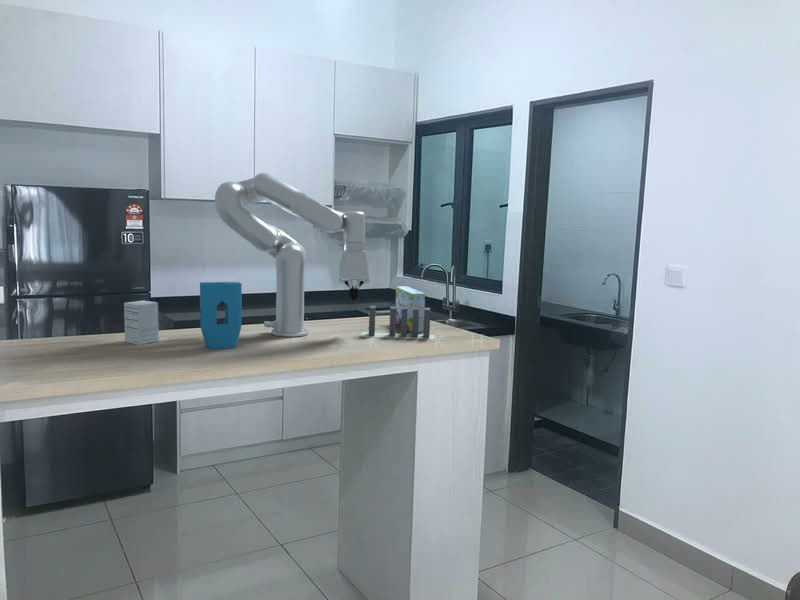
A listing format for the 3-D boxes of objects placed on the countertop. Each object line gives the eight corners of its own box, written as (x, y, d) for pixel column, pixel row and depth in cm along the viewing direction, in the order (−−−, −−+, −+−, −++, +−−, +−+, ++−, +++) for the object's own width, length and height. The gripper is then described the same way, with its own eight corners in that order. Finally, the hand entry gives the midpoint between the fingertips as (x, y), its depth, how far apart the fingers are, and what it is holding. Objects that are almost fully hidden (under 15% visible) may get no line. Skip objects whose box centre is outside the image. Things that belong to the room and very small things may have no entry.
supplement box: (144, 338, 205) (143, 300, 203) (159, 341, 201) (158, 302, 199) (124, 342, 198) (123, 302, 197) (139, 345, 195) (138, 304, 193)
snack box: (393, 323, 250) (395, 286, 248) (407, 323, 252) (408, 286, 250) (410, 333, 230) (412, 292, 228) (425, 333, 232) (426, 292, 230)
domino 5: (422, 337, 221) (423, 309, 219) (422, 335, 226) (423, 307, 224) (429, 338, 221) (430, 309, 219) (428, 335, 226) (429, 307, 224)
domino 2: (388, 336, 221) (389, 308, 219) (388, 333, 226) (389, 306, 224) (395, 336, 221) (396, 308, 219) (395, 334, 226) (396, 306, 224)
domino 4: (411, 337, 221) (412, 309, 219) (410, 334, 226) (412, 307, 224) (417, 337, 221) (418, 309, 219) (417, 335, 226) (418, 307, 224)
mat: (360, 337, 219) (360, 336, 219) (362, 333, 227) (362, 332, 227) (435, 340, 219) (435, 339, 219) (434, 335, 227) (434, 334, 227)
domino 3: (399, 337, 221) (400, 308, 219) (399, 334, 226) (400, 306, 224) (406, 337, 221) (407, 309, 219) (406, 334, 226) (407, 307, 224)
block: (202, 349, 192) (201, 284, 189) (199, 346, 196) (199, 282, 194) (242, 347, 197) (242, 283, 194) (238, 344, 201) (238, 281, 199)
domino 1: (367, 335, 221) (368, 307, 219) (368, 333, 226) (369, 305, 224) (374, 336, 221) (375, 307, 219) (374, 333, 226) (375, 305, 224)
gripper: (331, 247, 215) (331, 300, 218) (375, 248, 215) (374, 301, 218) (334, 246, 223) (334, 297, 225) (376, 246, 223) (375, 298, 225)
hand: (354, 299), depth 222 cm, fingers closed
